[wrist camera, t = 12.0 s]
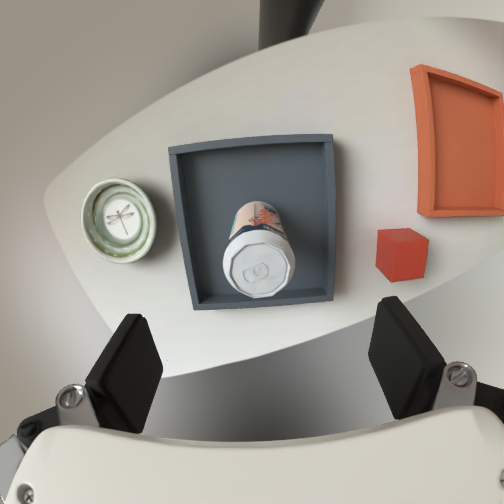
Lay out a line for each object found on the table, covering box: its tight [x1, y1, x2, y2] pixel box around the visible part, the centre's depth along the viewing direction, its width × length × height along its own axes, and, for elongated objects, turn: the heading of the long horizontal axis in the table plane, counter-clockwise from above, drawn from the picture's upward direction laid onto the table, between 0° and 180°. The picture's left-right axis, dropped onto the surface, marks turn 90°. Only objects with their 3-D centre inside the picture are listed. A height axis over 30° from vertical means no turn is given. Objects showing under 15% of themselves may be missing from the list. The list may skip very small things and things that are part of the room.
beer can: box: [223, 201, 295, 298], centre depth 23 cm, size 5×5×12 cm
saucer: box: [81, 178, 157, 264], centre depth 28 cm, size 10×10×2 cm
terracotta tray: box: [410, 64, 504, 217], centre depth 24 cm, size 18×16×3 cm
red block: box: [376, 228, 429, 282], centre depth 28 cm, size 4×4×4 cm
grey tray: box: [168, 134, 336, 310], centre depth 28 cm, size 18×16×3 cm
